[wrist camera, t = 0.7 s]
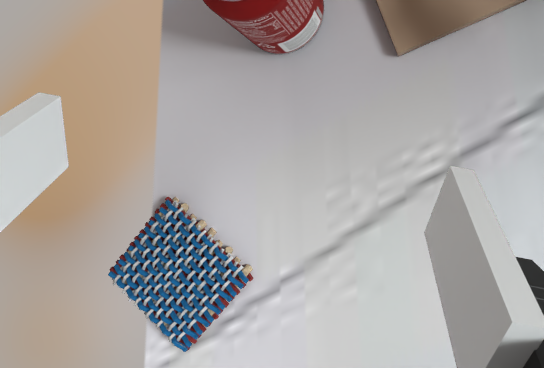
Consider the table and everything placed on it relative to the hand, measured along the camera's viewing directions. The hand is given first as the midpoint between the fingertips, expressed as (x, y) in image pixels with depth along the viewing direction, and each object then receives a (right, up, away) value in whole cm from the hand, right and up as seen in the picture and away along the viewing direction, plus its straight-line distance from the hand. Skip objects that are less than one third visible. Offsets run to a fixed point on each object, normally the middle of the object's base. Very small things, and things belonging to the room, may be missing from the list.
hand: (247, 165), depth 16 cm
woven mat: (-7, -8, +27) cm, 29 cm away
